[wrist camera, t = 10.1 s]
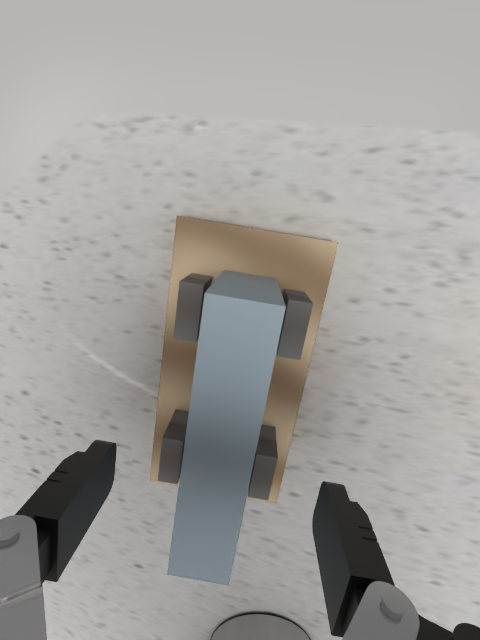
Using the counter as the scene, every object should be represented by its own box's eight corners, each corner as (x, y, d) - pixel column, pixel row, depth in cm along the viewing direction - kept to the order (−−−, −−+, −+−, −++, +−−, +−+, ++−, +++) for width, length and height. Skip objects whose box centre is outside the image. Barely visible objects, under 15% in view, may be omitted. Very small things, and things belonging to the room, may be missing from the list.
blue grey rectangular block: (237, 478, 22) (228, 585, 16) (194, 470, 22) (167, 574, 16) (276, 278, 19) (285, 306, 12) (224, 269, 19) (204, 292, 12)
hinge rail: (275, 486, 24) (278, 542, 20) (156, 465, 24) (134, 517, 20) (332, 241, 19) (353, 245, 15) (182, 216, 19) (160, 213, 15)
